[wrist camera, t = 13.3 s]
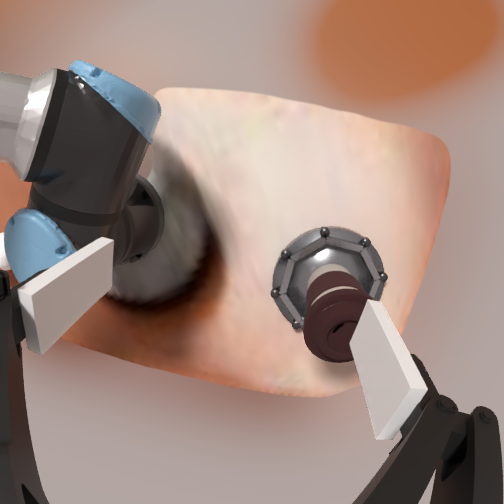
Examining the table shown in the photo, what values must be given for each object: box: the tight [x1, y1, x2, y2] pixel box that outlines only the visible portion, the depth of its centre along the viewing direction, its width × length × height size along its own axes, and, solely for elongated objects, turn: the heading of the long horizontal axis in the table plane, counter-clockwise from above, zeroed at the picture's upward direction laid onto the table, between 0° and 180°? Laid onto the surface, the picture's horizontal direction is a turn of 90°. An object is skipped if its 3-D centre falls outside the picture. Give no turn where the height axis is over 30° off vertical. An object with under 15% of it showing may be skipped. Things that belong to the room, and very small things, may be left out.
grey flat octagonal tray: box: [271, 226, 388, 329], centre depth 49 cm, size 18×18×2 cm
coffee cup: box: [303, 264, 375, 363], centre depth 41 cm, size 10×10×15 cm
